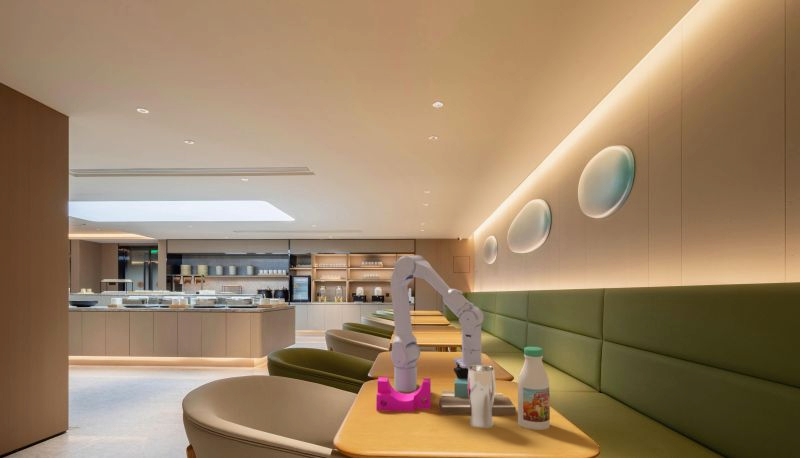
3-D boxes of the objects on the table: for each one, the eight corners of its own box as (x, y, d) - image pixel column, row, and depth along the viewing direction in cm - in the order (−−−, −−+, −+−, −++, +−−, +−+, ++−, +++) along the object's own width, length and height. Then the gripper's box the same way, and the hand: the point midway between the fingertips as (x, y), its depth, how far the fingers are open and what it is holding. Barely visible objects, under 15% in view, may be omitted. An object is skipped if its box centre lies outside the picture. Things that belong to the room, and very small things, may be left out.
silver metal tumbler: (478, 435, 112) (478, 373, 112) (462, 425, 118) (462, 366, 119) (501, 430, 115) (501, 369, 116) (483, 420, 122) (483, 363, 122)
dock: (439, 404, 133) (439, 396, 133) (508, 404, 133) (508, 396, 133) (441, 414, 125) (441, 406, 125) (515, 414, 125) (515, 407, 125)
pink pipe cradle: (376, 411, 128) (376, 383, 129) (378, 403, 135) (378, 377, 135) (430, 412, 128) (430, 385, 128) (430, 404, 134) (430, 378, 134)
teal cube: (454, 391, 139) (454, 378, 139) (468, 392, 139) (468, 379, 138) (454, 396, 135) (454, 383, 135) (468, 397, 135) (468, 383, 135)
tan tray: (442, 400, 141) (442, 390, 141) (502, 403, 138) (502, 393, 138) (441, 406, 136) (441, 395, 136) (503, 409, 133) (503, 398, 134)
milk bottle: (512, 427, 117) (512, 348, 117) (527, 419, 122) (526, 343, 123) (541, 436, 111) (540, 353, 112) (555, 427, 117) (554, 347, 118)
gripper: (446, 345, 142) (446, 390, 141) (477, 355, 129) (477, 404, 129) (463, 342, 146) (464, 386, 145) (496, 352, 133) (496, 399, 133)
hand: (471, 394), depth 137 cm, fingers closed on tan tray, 6 cm apart
